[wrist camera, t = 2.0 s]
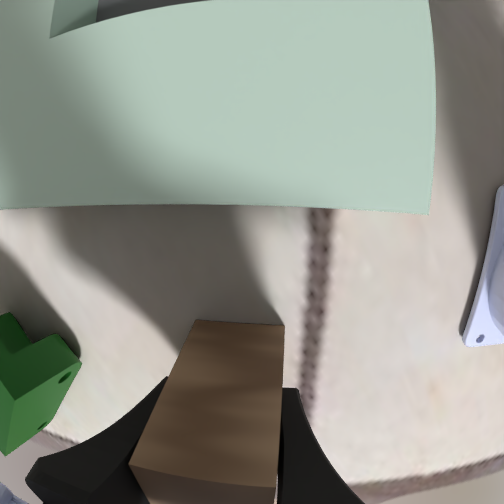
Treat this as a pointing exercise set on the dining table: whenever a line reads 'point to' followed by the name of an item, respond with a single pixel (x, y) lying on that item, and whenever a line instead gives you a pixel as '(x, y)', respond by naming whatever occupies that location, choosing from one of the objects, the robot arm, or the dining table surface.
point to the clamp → (30, 382)
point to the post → (216, 419)
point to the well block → (217, 103)
